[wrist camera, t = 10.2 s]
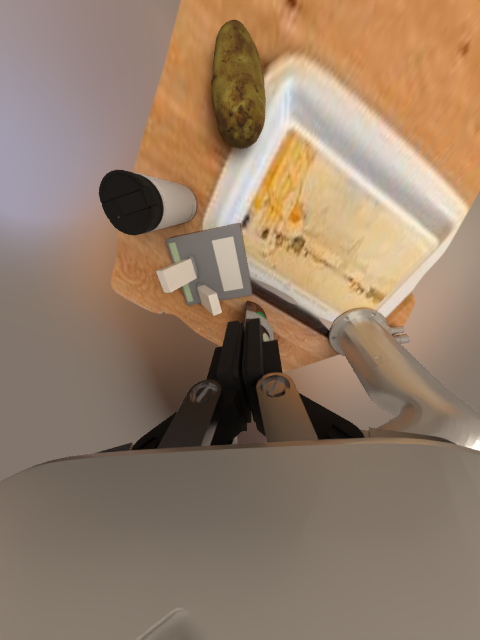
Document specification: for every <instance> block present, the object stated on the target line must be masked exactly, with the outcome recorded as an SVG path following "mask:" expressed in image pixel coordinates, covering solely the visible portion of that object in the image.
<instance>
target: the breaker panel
mask: <svg viewBox="0 0 480 640" xmlns="http://www.w3.org/2000/svg"><path fill="white" fill-rule="evenodd" d="M166 242H167V245H168V248H169V251H170V254H171V257H172V260H173V263H176V262H179V261H181V260H184V259H189V257H188V256H190V255H193V257H194V260H195V263H196V267H197V270H198V274H199V277H200V278H198V279H195V280H193V281H191V282H189V283H187V284H185V285H184V286H182V290H183V293H184V296H185V299H186V302H187V305H193V304H200V303H201V299H200V296H199V293H198V289H197V283H201V284H202V285H206V286H207V287H209V288H210V289H212V290H213V291H215V292H216V293H217V296H218V300H225V299H231V298H238V297H244V296H250V295H252V285H251V280H250V274H249V268H248V263H247V257H246V252H245V246H244V240H243V235H242V229H241V223H237V224H232V225H227V226H222V227H218V228H213V229H208V230H203V231H198V232H194V233H189V234H184V235H179V236H174V237H170V238H168V239H166Z"/></svg>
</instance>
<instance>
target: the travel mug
mask: <svg viewBox="0 0 480 640" xmlns="http://www.w3.org/2000/svg"><path fill="white" fill-rule="evenodd" d="M99 196H100V201H101V203H102V207H103V209H104V212H105V214H106V216H107V217H108V218H109V220H110V222H111V223H112V224H113V225H114V227H115V228H117V229H118V230H119V231H121V232H123V233H125V234H129V235H139V234H143V233H148V232H152V231H156V230H159V229H163V228H166V227H170V226H174V225H177V224H181V223H184V222H188V221H190V220H191V219H192V218H193V217H194V216H195V214H196V212H197V199H196V197H195V194H194V193H193V191H192V190H191V189H190V188H189V187H187V186H185V185H183V184H179V183H175V182H171V181H167V180H163V179H159V178H155V177H151V176H147V175H143V174H139V173H132V172H128V171H124V170H114V171H111V172H109V173H107V174H106V175H105V176H104V178H103V179H102V181H101V184H100V187H99Z"/></svg>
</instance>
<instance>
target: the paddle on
mask: <svg viewBox="0 0 480 640" xmlns="http://www.w3.org/2000/svg"><path fill="white" fill-rule="evenodd" d="M188 257H189V259H184V260H181V261H179V262H176V263H174V264H172V265H169V266H167V267H165V268H162V269H160V270H157V271H156V272H157V275H158V278H159V280H160V283H161V286H162V288H163V291H164V293H171V292H173V291H175V290H176V289H178V288H180V287H182V286H184V285H185V284H187V283H189V282H191V281H193V280H195V279H198V278H200V277H199V274H198V270H197V267H196V263H195V260H194V257H193V255H190V256H188Z"/></svg>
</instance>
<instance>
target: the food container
mask: <svg viewBox="0 0 480 640" xmlns="http://www.w3.org/2000/svg"><path fill="white" fill-rule="evenodd" d="M254 318H260V322H261V328H262V334H263V339H264V341H272V340H274V333H273V330H272V327H271V325H270V324H269V322H268V321H267V319H266V315H265V312H264V310H263V309H262V308H261V307H260V306H259V305H257V304H256V303H253V302H250V301H247V306H246V313H245V321H244V329H245V324H246V322H249V319H254Z"/></svg>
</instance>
